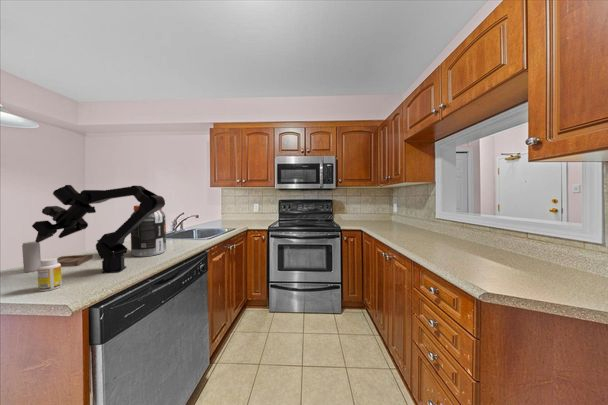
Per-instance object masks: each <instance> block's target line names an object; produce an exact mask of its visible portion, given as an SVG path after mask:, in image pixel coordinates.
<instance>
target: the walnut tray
mask: <svg viewBox="0 0 608 405" xmlns="http://www.w3.org/2000/svg"><path fill="white" fill-rule="evenodd" d="M56 258H57V263H60V264H61V268H65V267H77V266H81V265H82V264H85V263H86V262H88V261H90V260H93V258H94V256H93V254H79V255H77V254H76V255H75V254H74V255H63V256H62V255H61V256H59V257H56Z"/></svg>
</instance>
